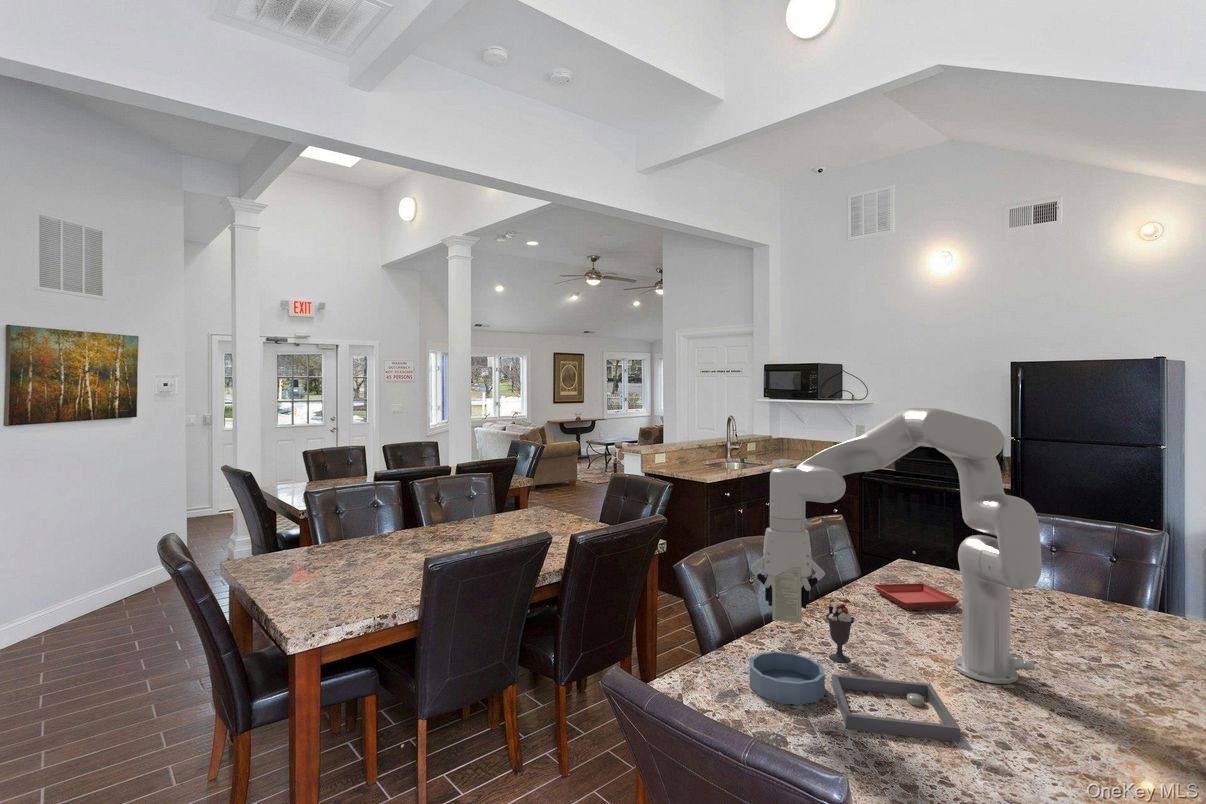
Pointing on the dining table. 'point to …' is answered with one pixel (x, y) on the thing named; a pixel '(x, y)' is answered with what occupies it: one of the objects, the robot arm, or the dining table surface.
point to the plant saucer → (916, 596)
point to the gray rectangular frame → (890, 725)
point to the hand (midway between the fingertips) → (786, 604)
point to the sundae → (839, 630)
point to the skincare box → (787, 596)
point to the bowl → (787, 678)
